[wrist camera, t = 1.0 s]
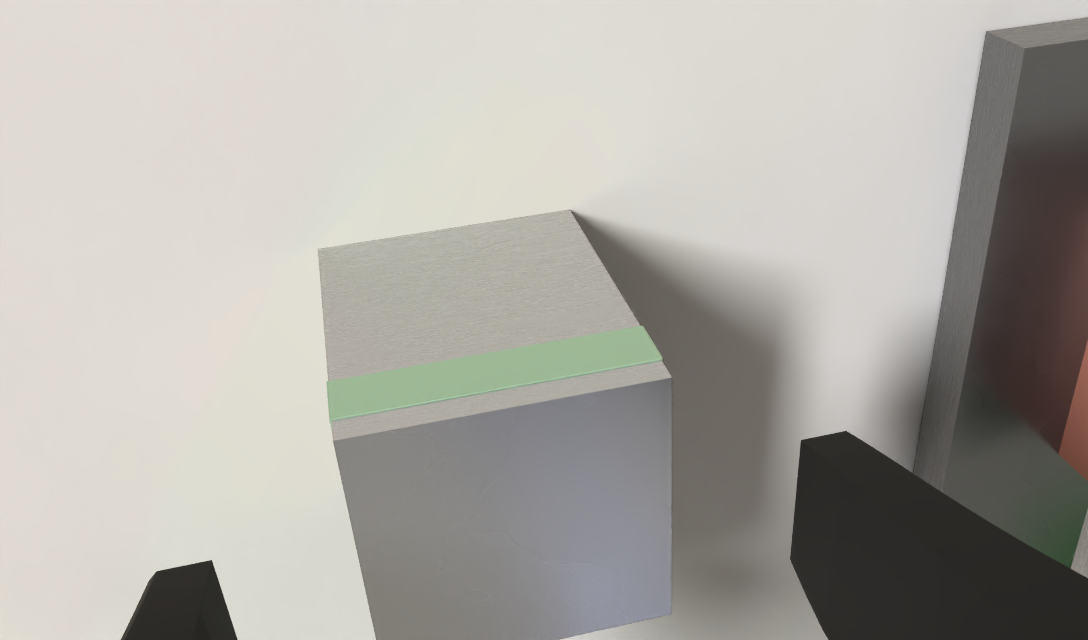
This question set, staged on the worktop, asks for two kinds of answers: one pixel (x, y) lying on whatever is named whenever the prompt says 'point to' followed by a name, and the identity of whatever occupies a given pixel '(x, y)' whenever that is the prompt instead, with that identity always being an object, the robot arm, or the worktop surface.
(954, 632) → the robot arm
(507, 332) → the green-striped metal cube
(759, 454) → the worktop surface
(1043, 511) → the dark grey rectangular tray
